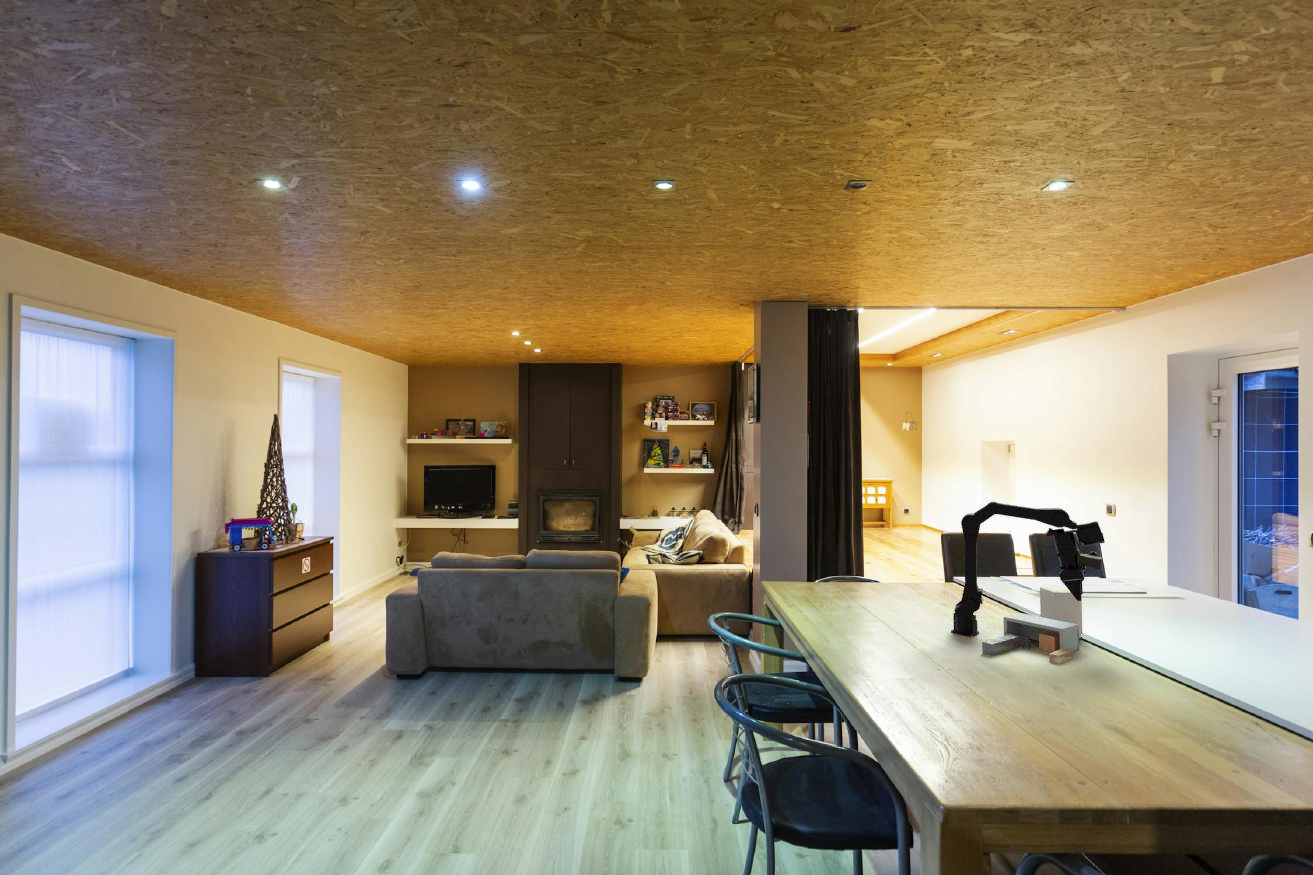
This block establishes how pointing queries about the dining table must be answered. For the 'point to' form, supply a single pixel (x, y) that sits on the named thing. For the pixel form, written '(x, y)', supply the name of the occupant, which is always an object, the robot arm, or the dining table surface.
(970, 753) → the dining table surface
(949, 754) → the dining table surface
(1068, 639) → the cubby
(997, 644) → the grey rectangular bar
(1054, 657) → the rod
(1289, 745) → the dining table surface
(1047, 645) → the block
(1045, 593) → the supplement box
